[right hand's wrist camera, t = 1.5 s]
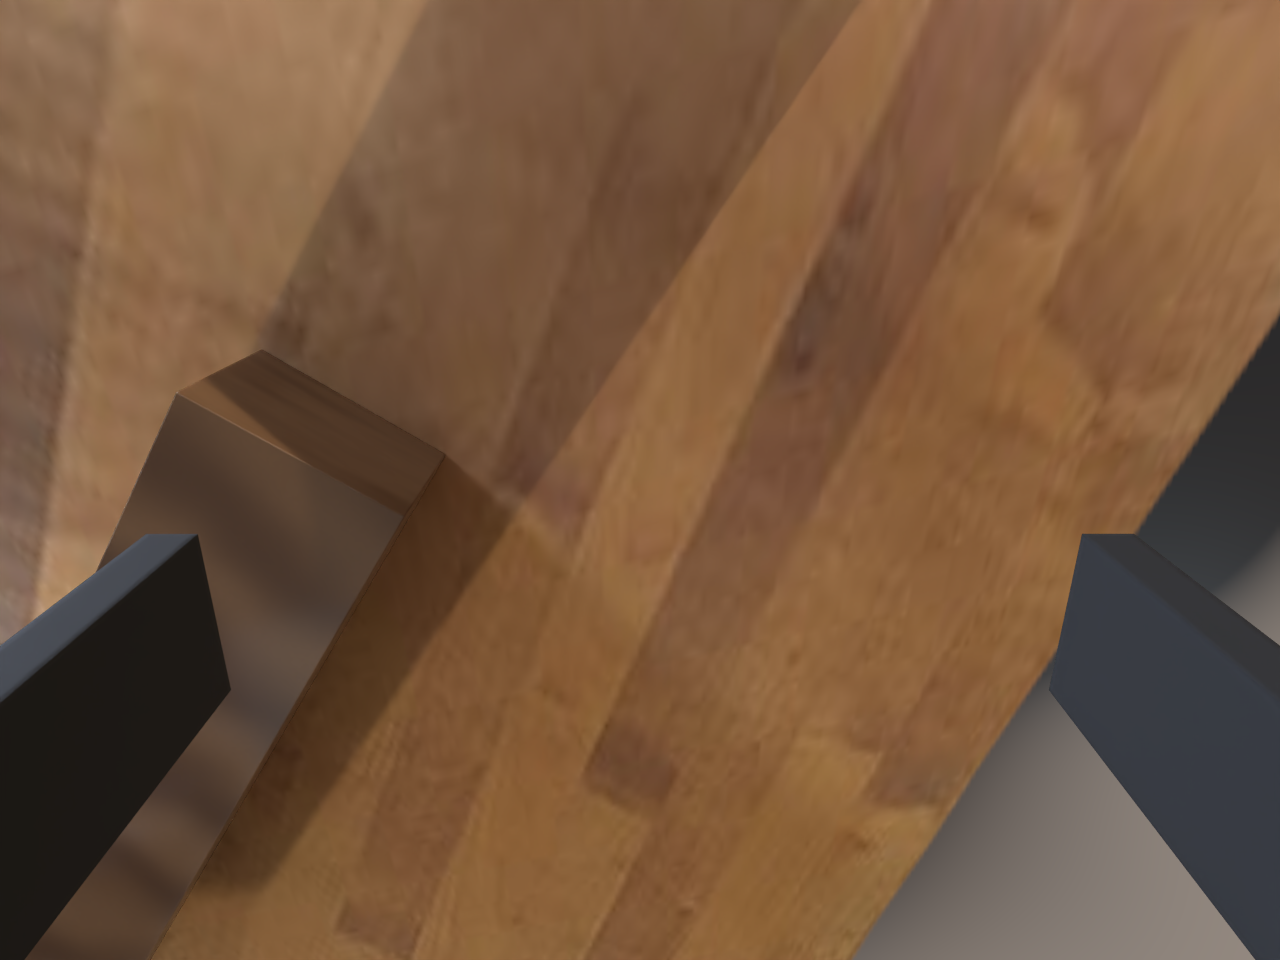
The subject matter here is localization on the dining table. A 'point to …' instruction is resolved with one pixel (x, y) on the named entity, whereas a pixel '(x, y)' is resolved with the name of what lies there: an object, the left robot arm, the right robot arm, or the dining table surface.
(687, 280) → the dining table surface
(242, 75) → the dining table surface
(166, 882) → the thick board
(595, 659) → the dining table surface
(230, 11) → the dining table surface
